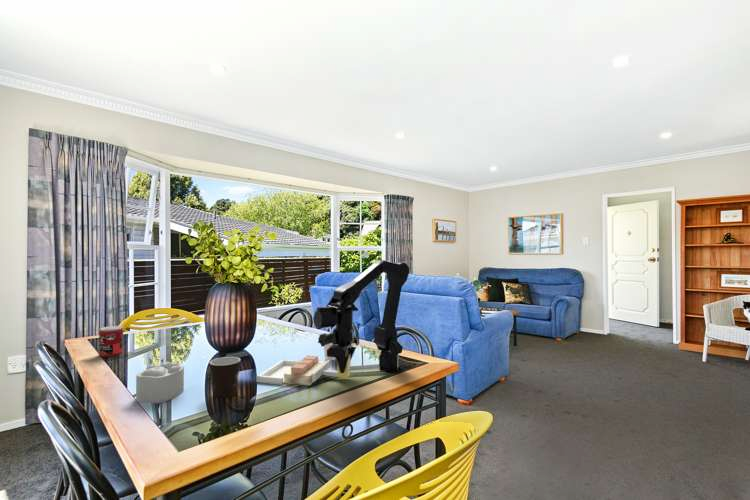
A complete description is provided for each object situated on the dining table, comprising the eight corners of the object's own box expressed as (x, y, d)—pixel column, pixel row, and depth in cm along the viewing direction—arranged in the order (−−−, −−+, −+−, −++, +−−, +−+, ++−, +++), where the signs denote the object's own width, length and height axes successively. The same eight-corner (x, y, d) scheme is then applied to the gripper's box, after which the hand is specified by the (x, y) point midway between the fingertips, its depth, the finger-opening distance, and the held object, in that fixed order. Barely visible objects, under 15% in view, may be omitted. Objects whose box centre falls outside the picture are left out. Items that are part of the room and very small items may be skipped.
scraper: (354, 369, 130) (354, 349, 130) (342, 384, 115) (342, 361, 115) (327, 367, 132) (327, 347, 132) (312, 381, 117) (312, 359, 117)
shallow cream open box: (326, 369, 133) (326, 361, 133) (309, 385, 117) (309, 376, 117) (303, 367, 134) (303, 359, 134) (283, 383, 119) (284, 373, 119)
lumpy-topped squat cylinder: (130, 401, 104) (130, 371, 104) (163, 384, 117) (163, 357, 117) (162, 404, 102) (163, 373, 102) (192, 387, 115) (193, 359, 115)
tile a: (318, 361, 132) (318, 356, 132) (313, 365, 128) (313, 359, 128) (307, 360, 133) (307, 355, 133) (303, 364, 129) (303, 358, 129)
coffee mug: (229, 401, 104) (229, 366, 104) (202, 398, 106) (203, 364, 106) (251, 386, 116) (251, 355, 116) (226, 384, 117) (227, 353, 117)
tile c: (307, 370, 122) (307, 364, 122) (302, 374, 119) (302, 368, 119) (296, 369, 123) (296, 363, 123) (291, 373, 119) (291, 367, 119)
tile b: (312, 365, 127) (312, 360, 127) (308, 369, 123) (308, 363, 123) (302, 365, 128) (302, 359, 128) (297, 368, 124) (297, 362, 124)
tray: (305, 366, 136) (305, 361, 136) (281, 384, 117) (281, 378, 117) (282, 364, 138) (283, 359, 138) (256, 382, 119) (256, 376, 119)
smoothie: (339, 357, 148) (339, 323, 148) (336, 362, 141) (336, 326, 142) (323, 357, 148) (324, 322, 149) (319, 361, 142) (320, 325, 142)
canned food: (94, 356, 147) (94, 328, 147) (113, 350, 155) (113, 325, 155) (108, 357, 145) (108, 330, 145) (127, 352, 153) (127, 326, 153)
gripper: (330, 318, 134) (330, 361, 134) (311, 329, 115) (310, 378, 115) (359, 320, 131) (359, 363, 131) (344, 331, 113) (344, 381, 113)
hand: (343, 371), depth 123 cm, fingers closed on scraper, 3 cm apart
